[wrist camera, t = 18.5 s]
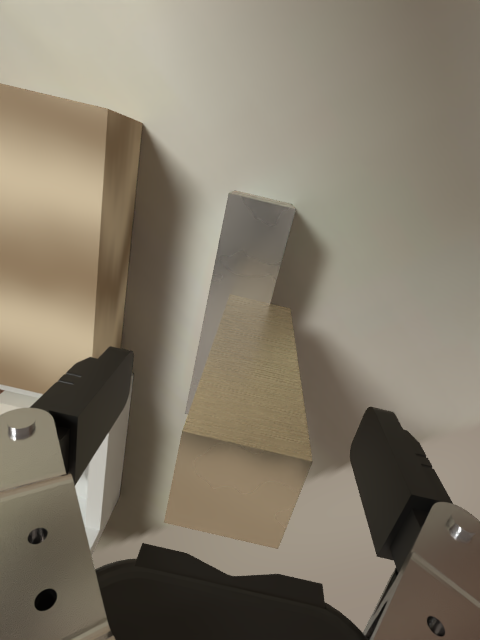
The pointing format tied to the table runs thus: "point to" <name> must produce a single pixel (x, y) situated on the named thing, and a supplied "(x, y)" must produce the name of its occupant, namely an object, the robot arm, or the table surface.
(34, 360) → the tan flat block
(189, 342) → the table surface
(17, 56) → the table surface
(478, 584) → the robot arm
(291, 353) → the scraper
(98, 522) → the box
